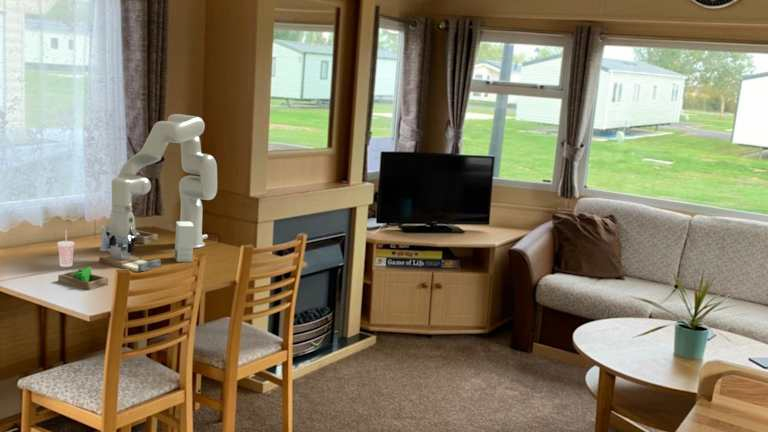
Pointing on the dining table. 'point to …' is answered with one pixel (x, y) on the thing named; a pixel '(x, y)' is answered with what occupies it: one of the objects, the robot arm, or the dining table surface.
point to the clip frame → (146, 237)
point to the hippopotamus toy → (106, 241)
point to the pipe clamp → (83, 274)
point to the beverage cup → (66, 252)
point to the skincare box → (184, 241)
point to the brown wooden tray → (95, 281)
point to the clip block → (120, 251)
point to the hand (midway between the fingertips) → (121, 250)
